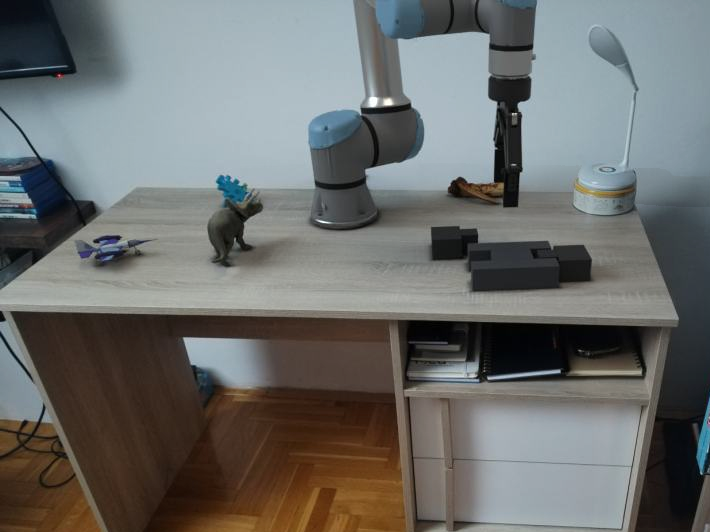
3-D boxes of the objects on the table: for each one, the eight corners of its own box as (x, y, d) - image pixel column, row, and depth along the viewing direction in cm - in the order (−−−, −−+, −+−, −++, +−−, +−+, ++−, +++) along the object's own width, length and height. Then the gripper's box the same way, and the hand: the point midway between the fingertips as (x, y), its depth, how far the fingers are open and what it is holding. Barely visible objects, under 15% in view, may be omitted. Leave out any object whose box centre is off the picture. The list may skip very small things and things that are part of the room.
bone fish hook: (445, 205, 160) (518, 205, 158) (444, 187, 157) (518, 186, 156) (448, 191, 168) (518, 191, 166) (447, 174, 165) (518, 173, 164)
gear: (242, 208, 154) (210, 176, 152) (228, 224, 156) (197, 193, 155) (264, 199, 164) (235, 169, 162) (250, 214, 166) (222, 185, 165)
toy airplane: (167, 249, 137) (162, 233, 136) (114, 276, 127) (109, 259, 125) (120, 241, 142) (116, 225, 140) (66, 266, 131) (60, 250, 129)
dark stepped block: (534, 266, 128) (535, 246, 126) (581, 265, 129) (583, 244, 126) (540, 282, 122) (541, 261, 120) (589, 280, 123) (592, 259, 120)
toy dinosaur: (221, 281, 124) (208, 225, 118) (181, 277, 126) (167, 222, 120) (271, 237, 143) (263, 187, 137) (236, 234, 144) (226, 185, 138)
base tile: (467, 263, 130) (467, 243, 128) (546, 260, 131) (548, 240, 128) (472, 291, 120) (472, 269, 117) (558, 287, 120) (559, 266, 118)
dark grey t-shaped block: (431, 246, 138) (430, 226, 135) (476, 244, 138) (476, 225, 136) (432, 259, 132) (431, 239, 129) (479, 258, 132) (479, 238, 130)
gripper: (545, 90, 102) (536, 217, 113) (520, 62, 123) (514, 172, 134) (497, 90, 101) (493, 219, 113) (480, 62, 122) (478, 173, 134)
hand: (505, 194), depth 123 cm, fingers open, 13 cm apart
